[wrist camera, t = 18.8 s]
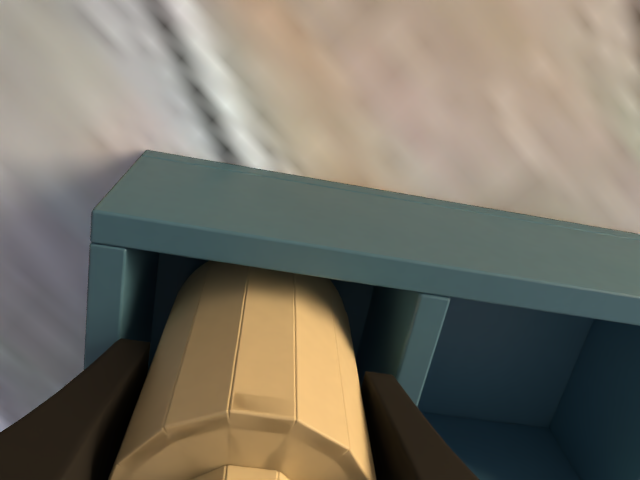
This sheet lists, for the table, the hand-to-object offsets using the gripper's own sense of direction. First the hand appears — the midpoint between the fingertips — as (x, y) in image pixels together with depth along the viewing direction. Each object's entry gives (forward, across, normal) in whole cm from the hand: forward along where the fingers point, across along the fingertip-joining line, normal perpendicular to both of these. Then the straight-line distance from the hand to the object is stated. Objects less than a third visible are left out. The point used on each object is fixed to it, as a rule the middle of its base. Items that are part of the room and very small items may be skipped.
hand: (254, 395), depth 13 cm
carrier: (+5, -3, +3) cm, 7 cm away
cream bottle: (+3, 0, 0) cm, 3 cm away
